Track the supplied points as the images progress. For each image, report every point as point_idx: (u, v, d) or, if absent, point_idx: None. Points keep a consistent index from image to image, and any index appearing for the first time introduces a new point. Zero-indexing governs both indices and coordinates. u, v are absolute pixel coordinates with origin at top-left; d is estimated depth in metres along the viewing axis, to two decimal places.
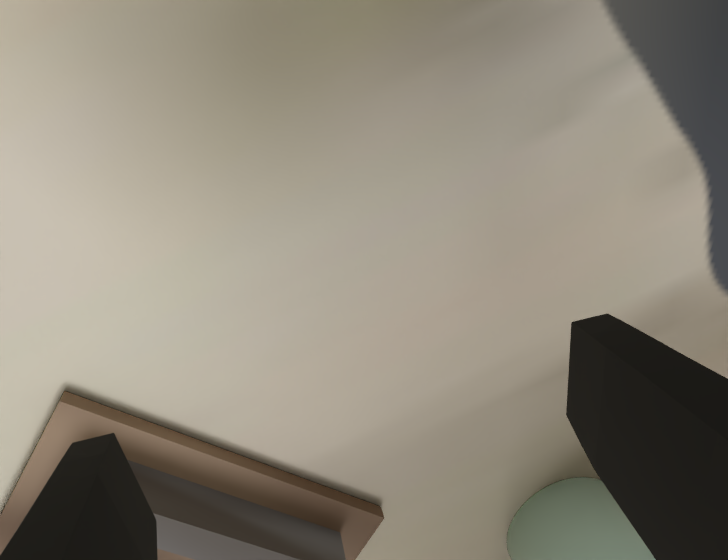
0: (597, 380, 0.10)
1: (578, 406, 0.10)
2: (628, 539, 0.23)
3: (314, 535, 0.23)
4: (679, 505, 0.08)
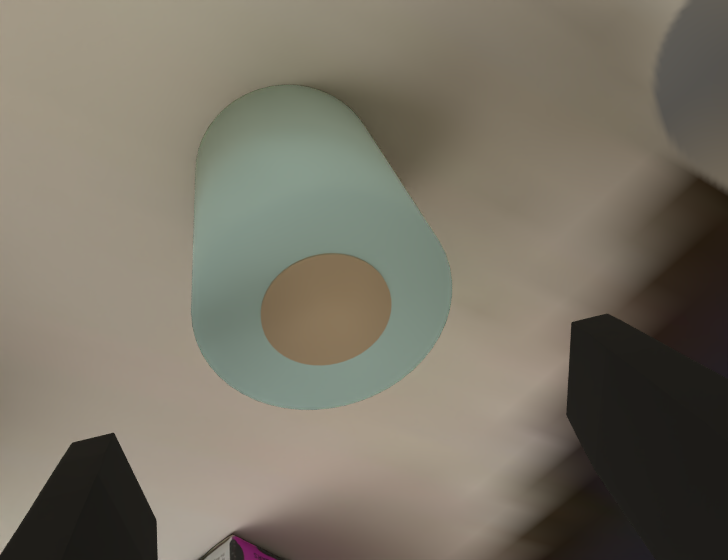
0: (597, 380, 0.10)
1: (578, 406, 0.11)
2: None
3: None
4: (679, 505, 0.08)
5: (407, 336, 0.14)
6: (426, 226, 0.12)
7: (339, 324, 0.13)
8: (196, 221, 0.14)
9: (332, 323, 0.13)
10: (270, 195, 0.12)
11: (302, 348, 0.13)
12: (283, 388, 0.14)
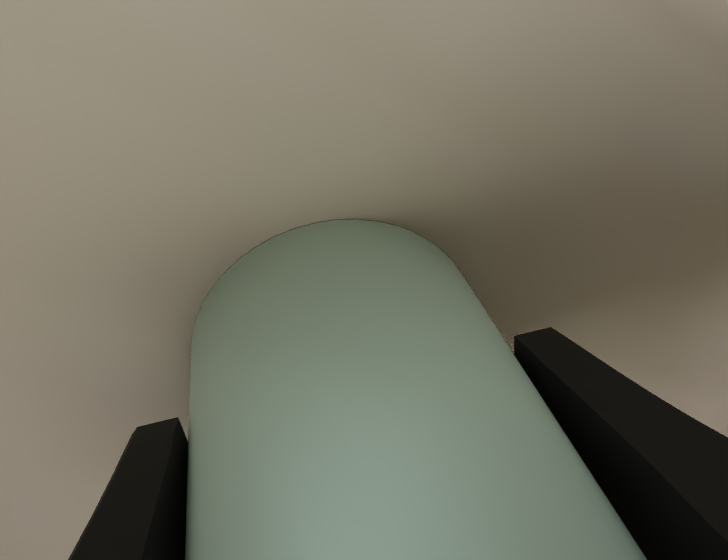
0: None
1: None
2: (542, 399, 0.09)
3: None
4: None
5: None
6: None
7: None
8: (190, 542, 0.07)
9: None
10: None
11: None
12: None
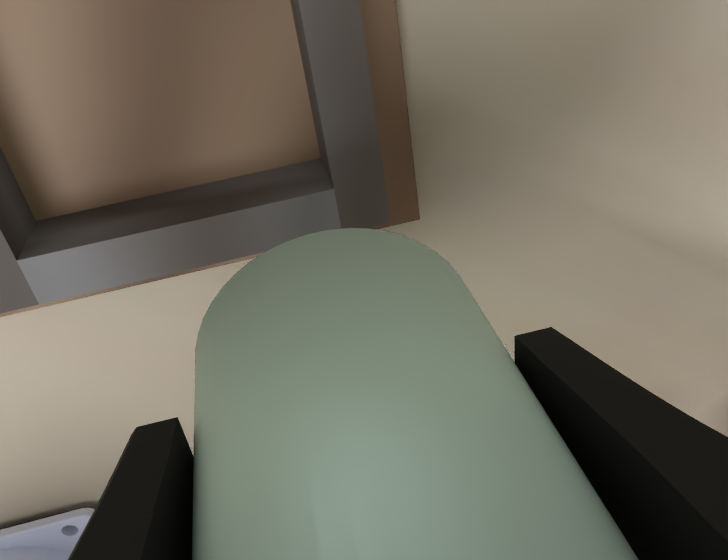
0: (538, 395, 0.09)
1: None
2: (538, 402, 0.09)
3: None
4: None
5: None
6: None
7: None
8: None
9: None
10: None
11: None
12: None
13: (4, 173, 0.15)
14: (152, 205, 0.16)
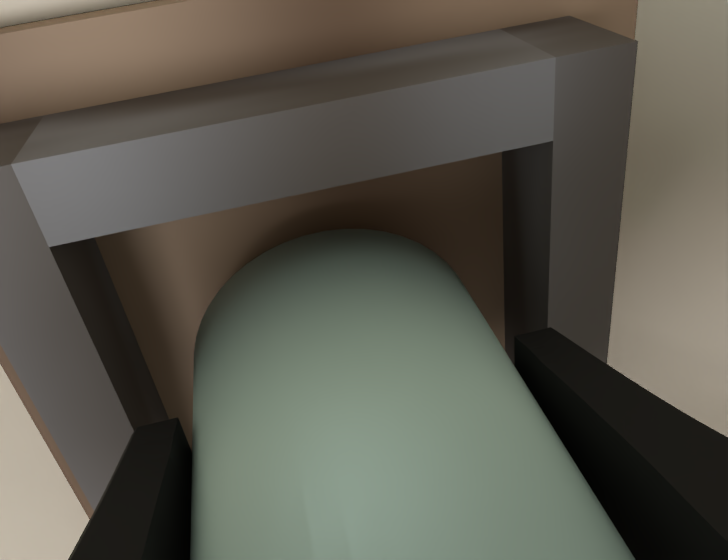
0: (537, 395, 0.09)
1: None
2: (535, 401, 0.09)
3: None
4: None
5: None
6: None
7: None
8: None
9: None
10: None
11: None
12: None
13: None
14: None
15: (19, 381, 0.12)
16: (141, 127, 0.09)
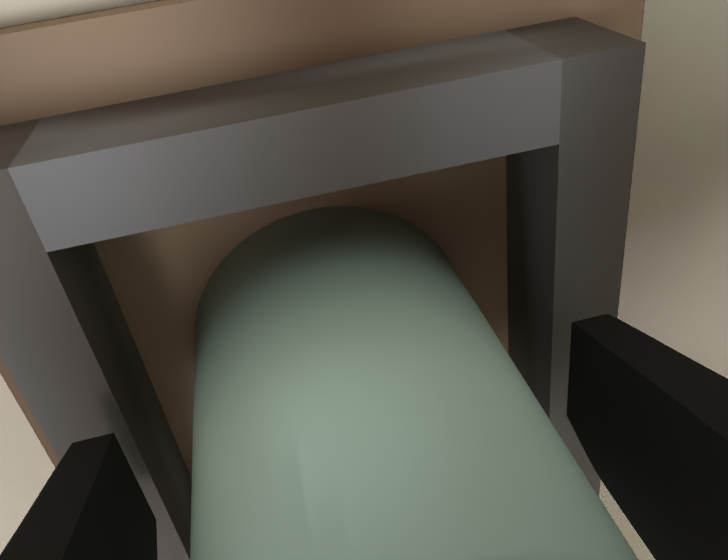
0: (597, 380, 0.10)
1: (578, 406, 0.11)
2: (510, 360, 0.09)
3: None
4: (679, 505, 0.08)
5: None
6: None
7: None
8: (193, 503, 0.08)
9: None
10: None
11: None
12: None
13: (176, 460, 0.13)
14: None
15: (17, 386, 0.12)
16: (140, 130, 0.08)
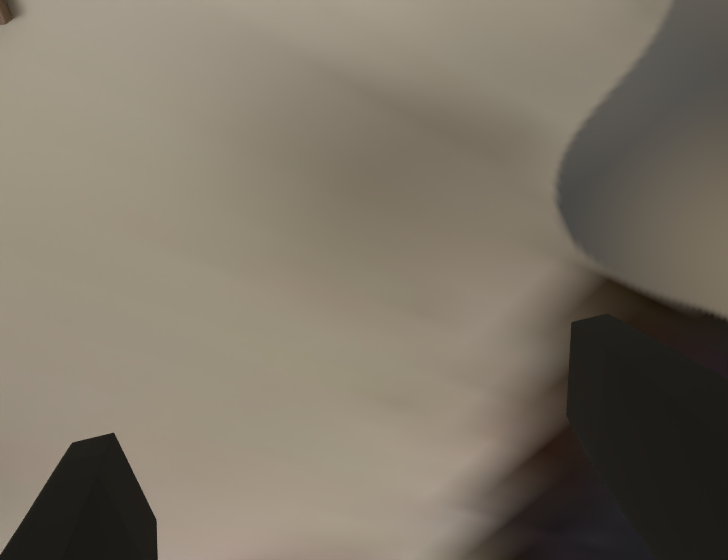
0: (597, 380, 0.10)
1: (578, 406, 0.11)
2: None
3: None
4: (679, 505, 0.08)
5: None
6: None
7: None
8: None
9: None
10: None
11: None
12: None
13: None
14: None
15: None
16: None
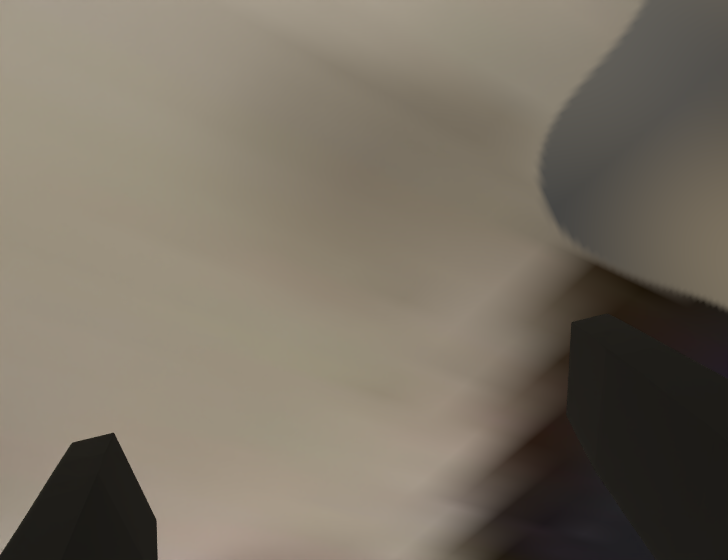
0: (597, 380, 0.10)
1: (578, 406, 0.11)
2: None
3: None
4: (679, 505, 0.08)
5: None
6: None
7: None
8: None
9: None
10: None
11: None
12: None
13: None
14: None
15: None
16: None
